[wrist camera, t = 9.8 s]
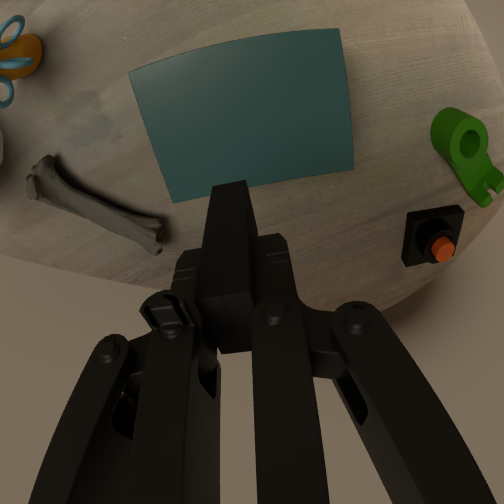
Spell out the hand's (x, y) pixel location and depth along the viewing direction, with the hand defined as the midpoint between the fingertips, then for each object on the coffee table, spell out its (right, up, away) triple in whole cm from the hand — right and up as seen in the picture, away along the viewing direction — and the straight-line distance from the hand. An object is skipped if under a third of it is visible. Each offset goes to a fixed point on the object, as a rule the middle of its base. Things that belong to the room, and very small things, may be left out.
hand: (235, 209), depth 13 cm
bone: (-20, +6, +22) cm, 30 cm away
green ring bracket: (+31, +13, +19) cm, 38 cm away
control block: (+29, +1, +28) cm, 40 cm away
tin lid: (0, +9, +9) cm, 13 cm away
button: (+29, -1, +25) cm, 38 cm away
